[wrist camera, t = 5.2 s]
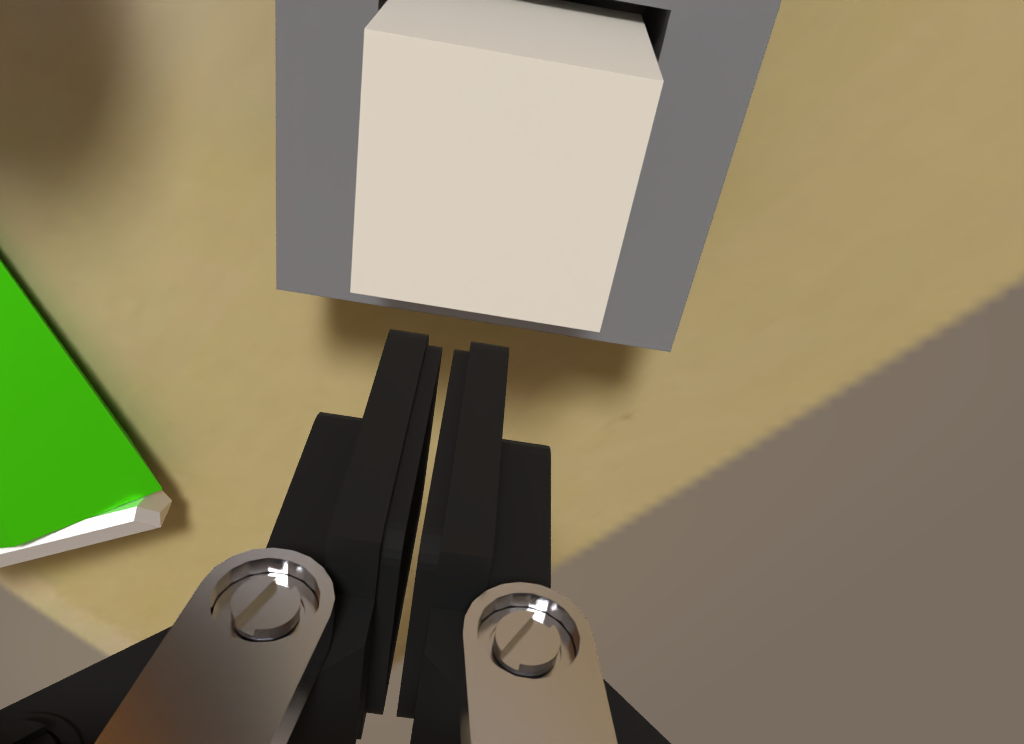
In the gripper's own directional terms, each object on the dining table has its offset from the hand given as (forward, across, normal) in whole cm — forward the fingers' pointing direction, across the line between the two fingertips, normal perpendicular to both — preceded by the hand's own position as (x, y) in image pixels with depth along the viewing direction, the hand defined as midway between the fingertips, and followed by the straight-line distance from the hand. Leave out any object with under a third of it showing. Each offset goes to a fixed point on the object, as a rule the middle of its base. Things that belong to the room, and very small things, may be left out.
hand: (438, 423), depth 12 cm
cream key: (+14, 0, 0) cm, 14 cm away
